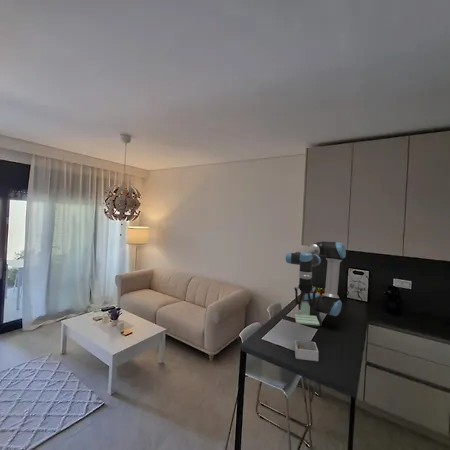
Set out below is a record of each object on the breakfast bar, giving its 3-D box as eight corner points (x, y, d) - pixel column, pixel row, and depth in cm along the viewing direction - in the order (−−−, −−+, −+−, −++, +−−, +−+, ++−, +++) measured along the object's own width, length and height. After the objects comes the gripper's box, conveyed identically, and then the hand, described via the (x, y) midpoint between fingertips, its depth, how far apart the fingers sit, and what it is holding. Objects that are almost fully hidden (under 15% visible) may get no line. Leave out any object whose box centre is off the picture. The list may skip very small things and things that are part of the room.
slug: (298, 350, 152) (298, 345, 152) (303, 350, 151) (303, 345, 151) (298, 352, 149) (298, 347, 149) (303, 353, 149) (303, 348, 149)
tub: (294, 349, 154) (294, 339, 154) (315, 352, 152) (315, 342, 152) (295, 359, 143) (296, 349, 143) (318, 362, 140) (318, 351, 140)
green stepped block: (294, 312, 161) (294, 300, 161) (314, 314, 158) (315, 302, 158) (296, 323, 144) (296, 309, 144) (319, 325, 141) (319, 311, 141)
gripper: (291, 278, 156) (290, 316, 156) (321, 280, 152) (320, 318, 152) (291, 275, 163) (290, 312, 163) (319, 277, 159) (318, 314, 160)
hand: (304, 315), depth 158 cm, fingers closed on green stepped block, 4 cm apart
